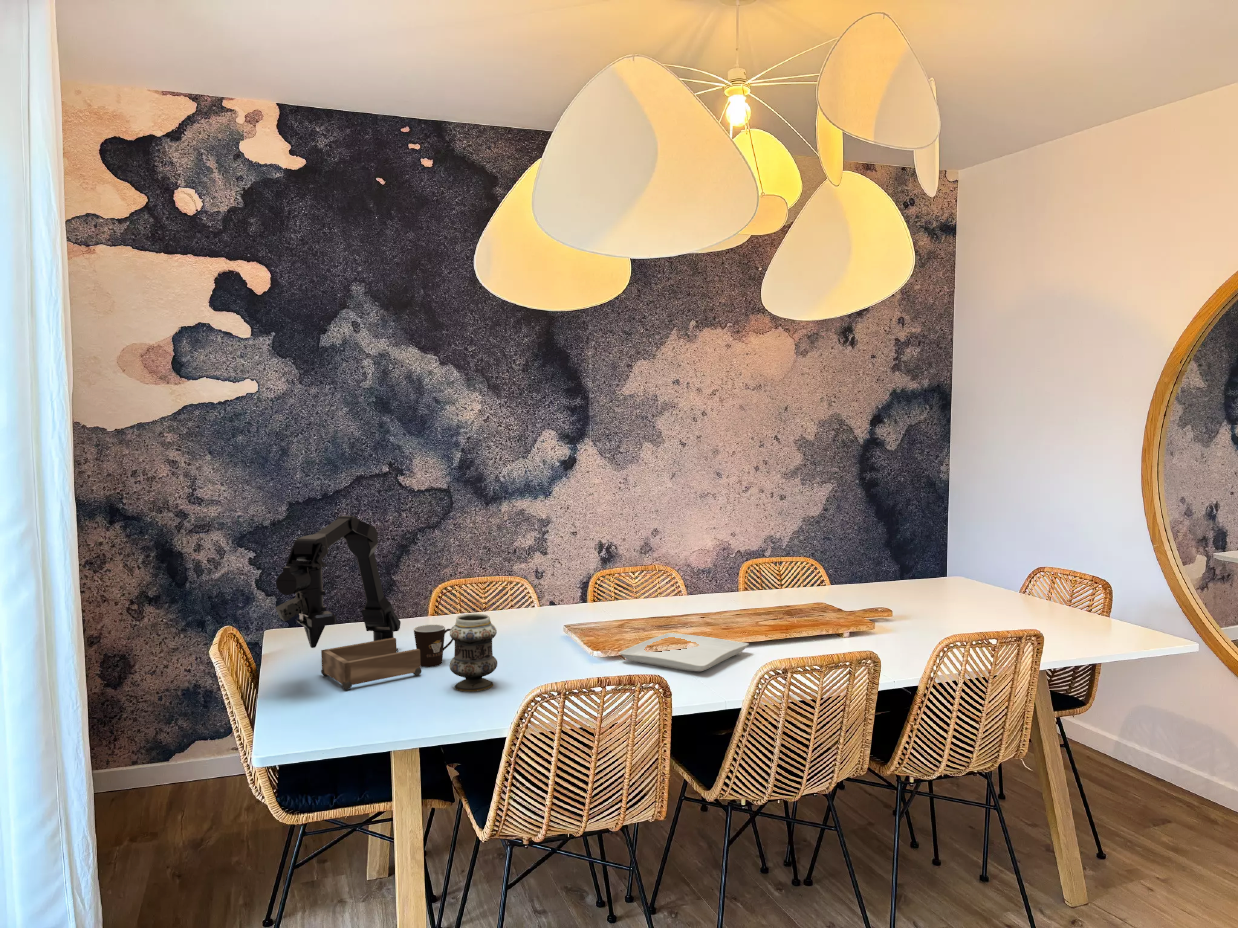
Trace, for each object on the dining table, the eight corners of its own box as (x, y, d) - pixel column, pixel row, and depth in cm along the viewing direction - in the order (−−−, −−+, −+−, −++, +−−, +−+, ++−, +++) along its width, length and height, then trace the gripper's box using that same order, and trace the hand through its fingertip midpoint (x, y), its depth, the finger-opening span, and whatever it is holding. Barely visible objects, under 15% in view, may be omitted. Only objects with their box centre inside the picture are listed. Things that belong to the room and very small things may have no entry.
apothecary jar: (507, 685, 235) (505, 616, 234) (468, 696, 226) (466, 624, 225) (479, 676, 243) (477, 609, 242) (440, 686, 235) (438, 616, 234)
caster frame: (319, 675, 246) (318, 649, 246) (395, 661, 259) (394, 636, 259) (344, 691, 232) (343, 664, 232) (423, 675, 245) (422, 649, 244)
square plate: (750, 655, 261) (750, 641, 261) (703, 679, 239) (703, 664, 239) (668, 642, 277) (668, 629, 276) (617, 664, 254) (617, 650, 254)
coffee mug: (415, 669, 251) (414, 633, 250) (413, 660, 259) (412, 625, 259) (458, 665, 254) (457, 629, 254) (455, 657, 262) (454, 622, 262)
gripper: (267, 585, 237) (269, 645, 238) (290, 597, 222) (293, 660, 224) (310, 580, 244) (312, 638, 245) (335, 590, 229) (338, 652, 230)
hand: (313, 647), depth 236 cm, fingers closed
